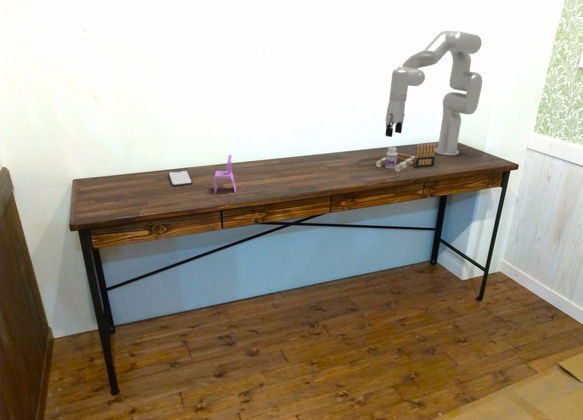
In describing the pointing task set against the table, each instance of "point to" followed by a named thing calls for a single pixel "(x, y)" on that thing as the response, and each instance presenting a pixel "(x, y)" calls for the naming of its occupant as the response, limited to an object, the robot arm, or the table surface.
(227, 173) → the toy chair
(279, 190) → the table surface
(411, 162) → the guide channel
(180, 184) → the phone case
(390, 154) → the pill bottle
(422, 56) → the robot arm
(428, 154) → the ammunition clip
